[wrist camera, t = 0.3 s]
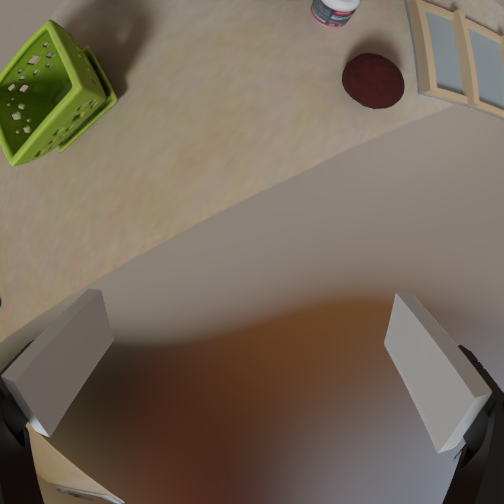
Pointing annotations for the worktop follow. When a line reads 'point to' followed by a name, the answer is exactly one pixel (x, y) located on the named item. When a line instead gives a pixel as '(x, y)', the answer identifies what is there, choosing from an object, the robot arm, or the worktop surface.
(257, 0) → the worktop surface
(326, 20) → the pill bottle
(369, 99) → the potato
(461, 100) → the open tray
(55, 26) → the flower pot
